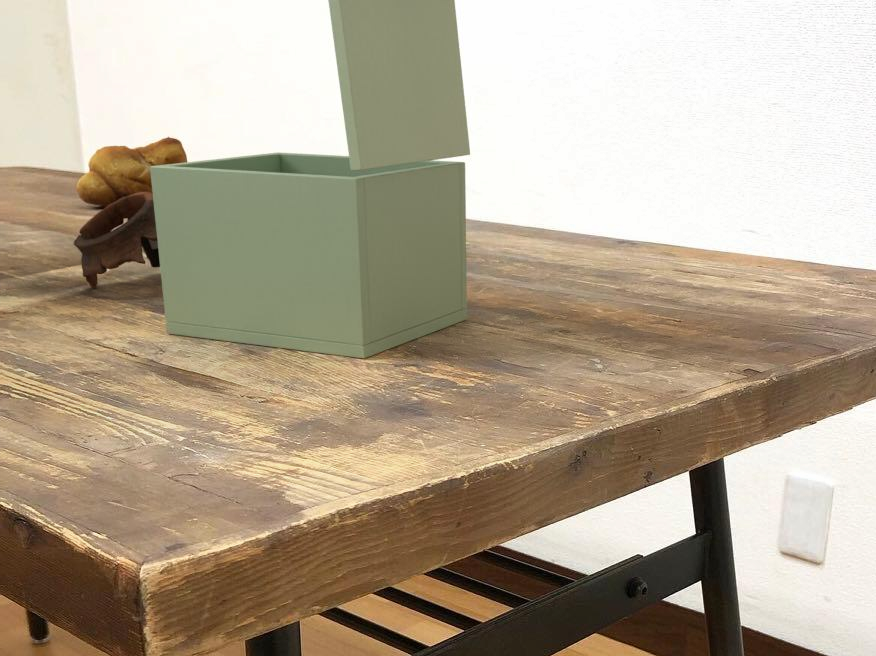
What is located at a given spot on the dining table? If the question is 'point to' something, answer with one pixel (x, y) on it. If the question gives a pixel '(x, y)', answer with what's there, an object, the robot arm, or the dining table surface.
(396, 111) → the lid
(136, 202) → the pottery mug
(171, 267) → the box
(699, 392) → the dining table surface
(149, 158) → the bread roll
